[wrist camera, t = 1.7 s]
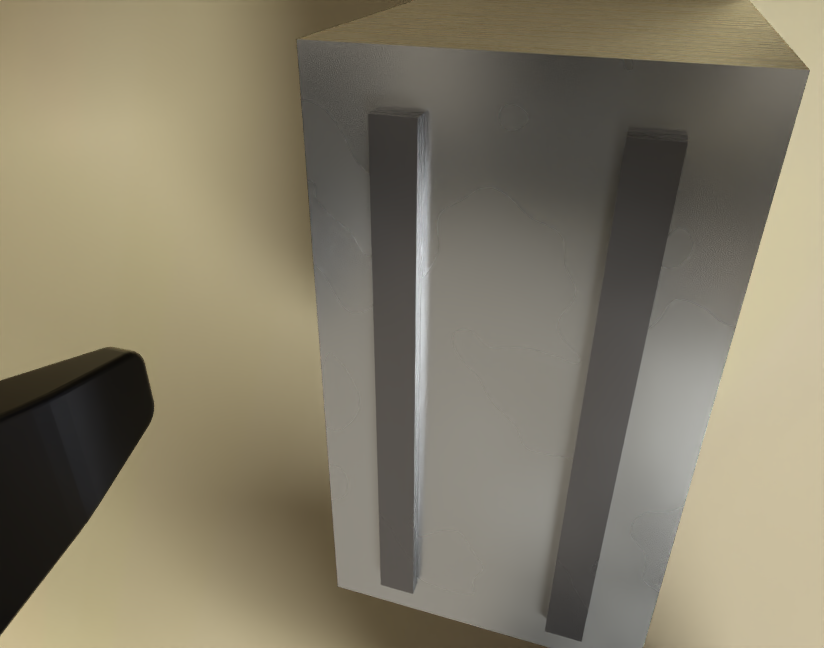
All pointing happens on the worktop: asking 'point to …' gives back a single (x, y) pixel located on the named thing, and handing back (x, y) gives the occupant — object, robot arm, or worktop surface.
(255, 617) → the worktop surface
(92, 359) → the robot arm
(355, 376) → the block
